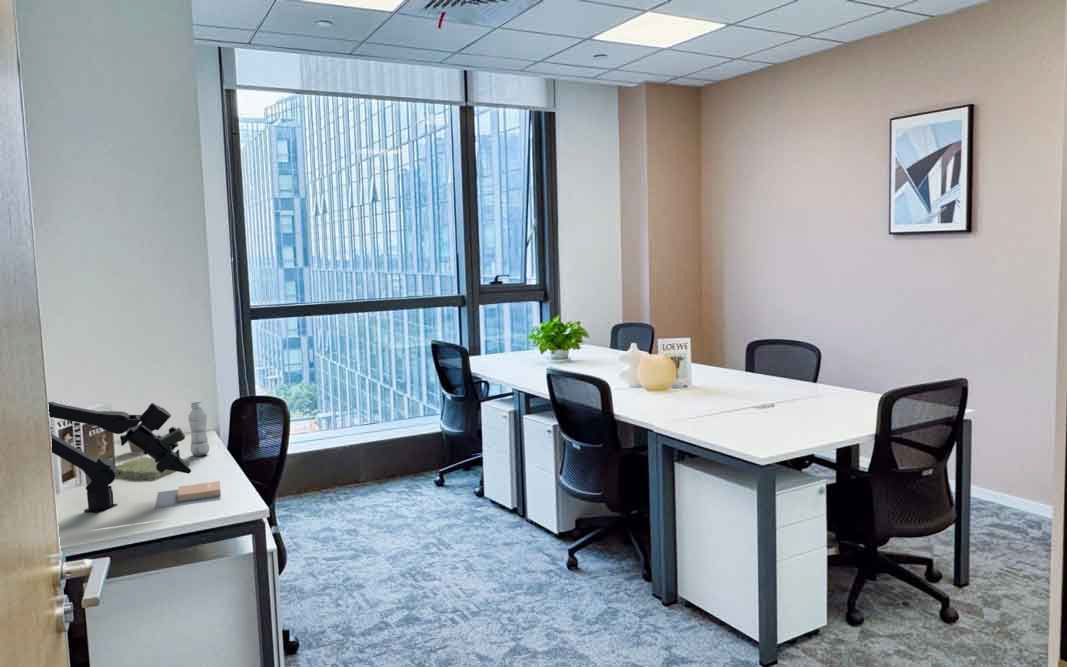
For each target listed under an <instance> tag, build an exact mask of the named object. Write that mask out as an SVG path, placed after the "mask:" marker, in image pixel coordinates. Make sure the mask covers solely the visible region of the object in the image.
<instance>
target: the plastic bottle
mask: <svg viewBox="0 0 1067 667" xmlns="http://www.w3.org/2000/svg"><path fill="white" fill-rule="evenodd" d="M190 406H191V407H190V409H191V411H190V413H189V414H188V418H187V419H188V423H189V427H190V434H191V436H190V437H191V438H190V439H191V441H190V453H191V455H193V456H199V457H200V456H201V455H202V456H204V455H205V456H206V455H208V453H209V452H210V444H209V442H208V435H207V422H208V420H207V419H208V416H207V413H206V411H205V410H204V409H202V408H203V402H201V401H198V402H197V401H196V402H194V401H193V402H191V404H190Z"/></svg>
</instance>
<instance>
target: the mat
mask: <svg viewBox="0 0 1067 667" xmlns="http://www.w3.org/2000/svg"><path fill="white" fill-rule="evenodd" d="M220 500H221V496H216V497H209V498H202V499H195V500H187V501H180V502H178V489H173V490H165V491H158V492H157V496H156V501H155V506H154V510H156V509H164V508H171V507H178V506H184V505H193V504H200V503H207V502H214V501H220Z"/></svg>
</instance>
